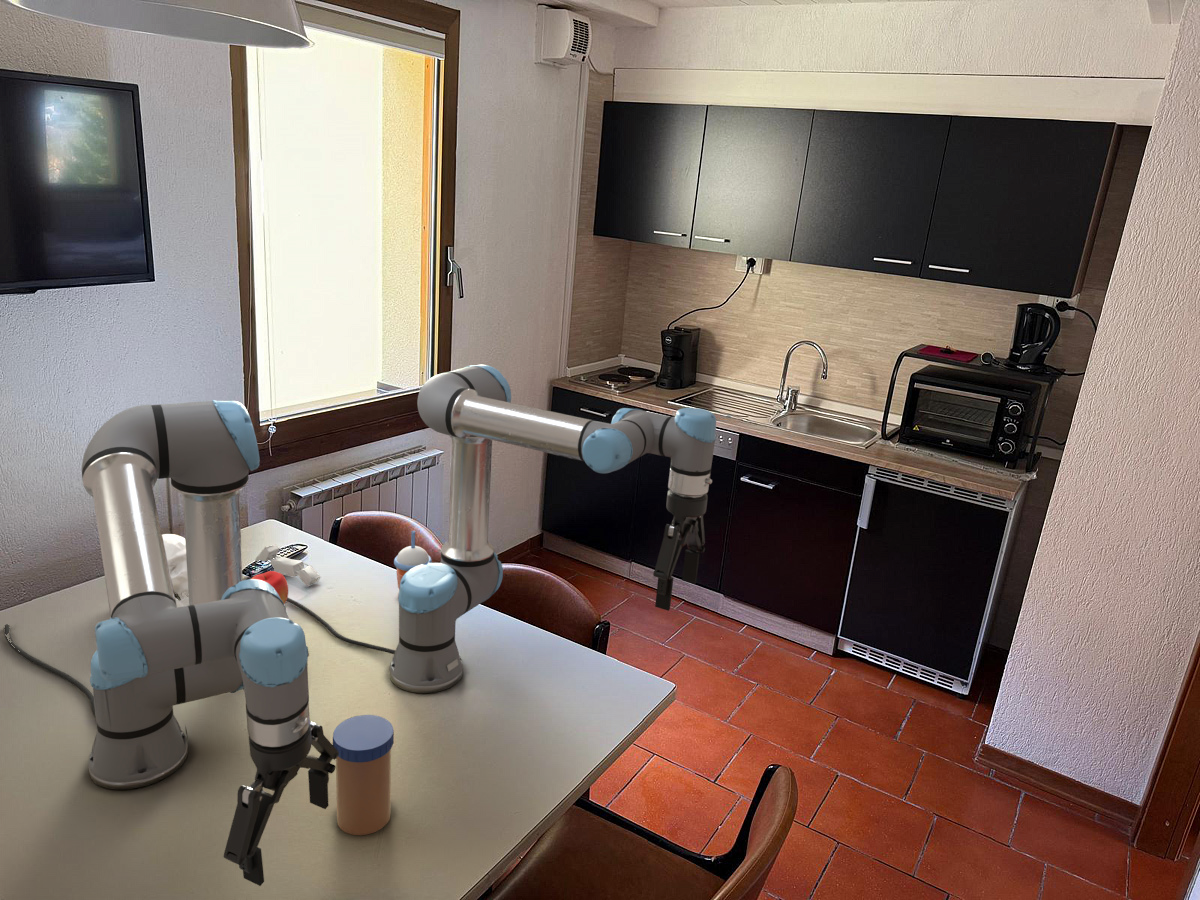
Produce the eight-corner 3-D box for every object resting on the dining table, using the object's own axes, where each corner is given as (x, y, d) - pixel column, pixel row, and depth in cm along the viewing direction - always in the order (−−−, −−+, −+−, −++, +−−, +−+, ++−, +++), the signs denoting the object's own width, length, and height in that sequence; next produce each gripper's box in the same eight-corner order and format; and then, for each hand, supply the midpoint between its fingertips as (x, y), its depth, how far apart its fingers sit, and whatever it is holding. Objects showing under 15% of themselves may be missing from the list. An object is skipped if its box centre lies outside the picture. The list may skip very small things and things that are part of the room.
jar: (325, 819, 140) (323, 736, 135) (366, 791, 147) (366, 711, 142) (361, 843, 135) (360, 758, 131) (401, 813, 142) (402, 732, 138)
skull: (191, 620, 195) (189, 556, 191) (114, 601, 201) (110, 538, 197) (232, 597, 208) (230, 537, 203) (157, 580, 213) (154, 520, 209)
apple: (273, 600, 207) (272, 562, 204) (297, 613, 202) (296, 575, 199) (237, 614, 200) (234, 575, 197) (261, 628, 194) (259, 588, 191)
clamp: (253, 565, 223) (254, 542, 221) (265, 560, 226) (266, 537, 224) (309, 593, 215) (310, 569, 213) (320, 588, 218) (321, 564, 216)
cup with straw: (422, 608, 209) (423, 541, 204) (387, 602, 210) (387, 535, 205) (436, 592, 217) (437, 527, 212) (403, 587, 219) (403, 522, 214)
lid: (320, 746, 136) (319, 734, 135) (366, 719, 143) (366, 707, 142) (360, 771, 131) (360, 758, 130) (406, 741, 138) (406, 729, 138)
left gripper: (233, 811, 98) (246, 928, 108) (362, 678, 119) (363, 785, 129) (181, 787, 100) (199, 904, 110) (317, 660, 121) (322, 767, 131)
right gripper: (681, 516, 147) (669, 626, 153) (728, 478, 168) (716, 576, 174) (642, 506, 150) (631, 614, 156) (693, 470, 171) (682, 566, 178)
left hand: (288, 840), depth 119 cm, fingers open, 13 cm apart
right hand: (676, 594), depth 165 cm, fingers open, 13 cm apart
